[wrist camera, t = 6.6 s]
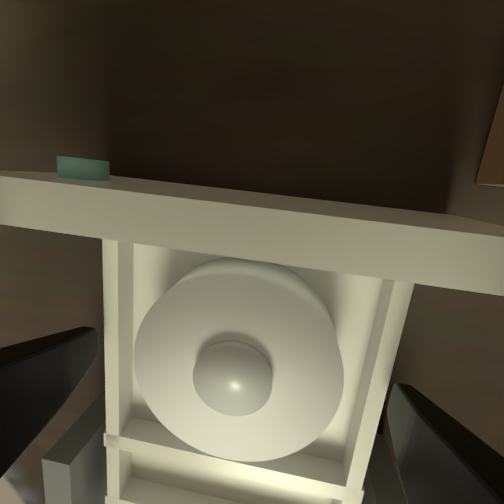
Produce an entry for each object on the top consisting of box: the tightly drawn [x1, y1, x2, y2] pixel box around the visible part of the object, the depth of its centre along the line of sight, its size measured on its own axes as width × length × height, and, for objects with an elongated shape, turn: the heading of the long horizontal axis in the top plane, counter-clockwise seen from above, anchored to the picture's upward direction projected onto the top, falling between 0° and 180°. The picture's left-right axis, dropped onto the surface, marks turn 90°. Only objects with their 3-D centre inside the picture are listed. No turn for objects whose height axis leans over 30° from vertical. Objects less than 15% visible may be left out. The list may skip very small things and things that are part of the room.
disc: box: [134, 257, 344, 462], centre depth 9 cm, size 6×6×2 cm
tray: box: [0, 156, 504, 504], centre depth 9 cm, size 12×13×5 cm
